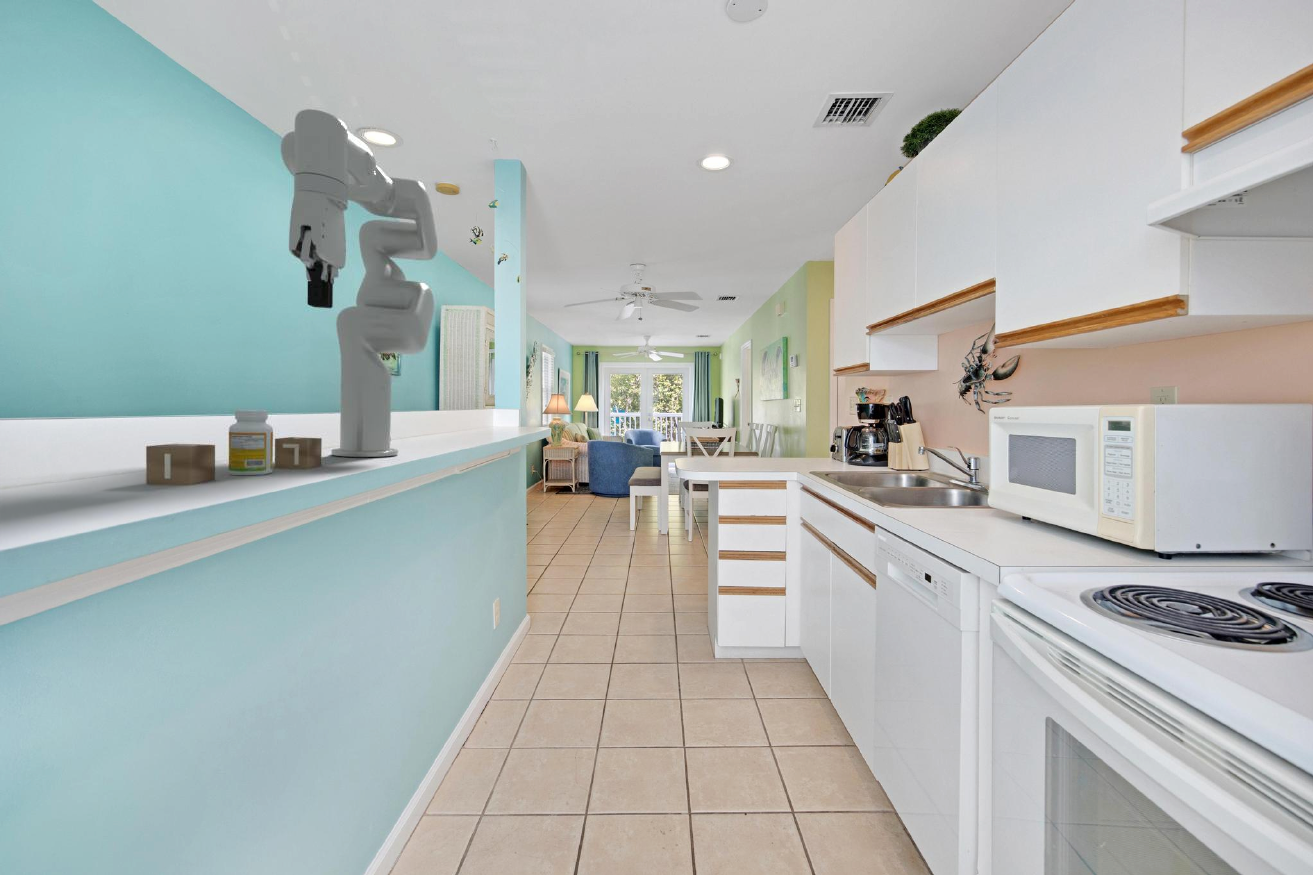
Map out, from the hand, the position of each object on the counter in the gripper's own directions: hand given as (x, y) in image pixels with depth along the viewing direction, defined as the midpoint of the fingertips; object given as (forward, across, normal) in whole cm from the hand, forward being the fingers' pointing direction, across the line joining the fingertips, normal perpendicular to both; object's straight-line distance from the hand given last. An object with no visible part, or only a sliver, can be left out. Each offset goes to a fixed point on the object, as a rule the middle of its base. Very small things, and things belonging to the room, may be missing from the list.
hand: (320, 306), depth 91 cm
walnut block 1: (+27, +18, -9) cm, 34 cm away
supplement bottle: (+27, +8, -6) cm, 29 cm away
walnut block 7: (+27, -2, -4) cm, 28 cm away
